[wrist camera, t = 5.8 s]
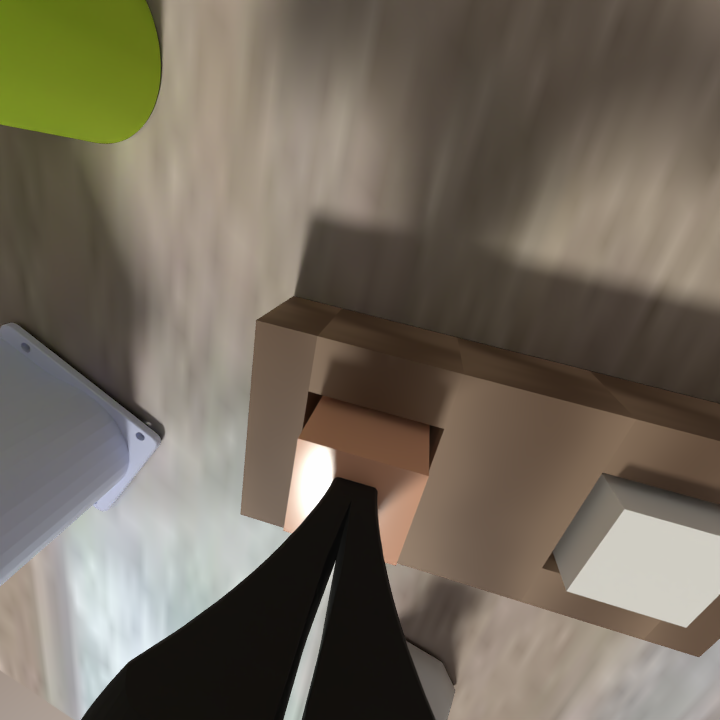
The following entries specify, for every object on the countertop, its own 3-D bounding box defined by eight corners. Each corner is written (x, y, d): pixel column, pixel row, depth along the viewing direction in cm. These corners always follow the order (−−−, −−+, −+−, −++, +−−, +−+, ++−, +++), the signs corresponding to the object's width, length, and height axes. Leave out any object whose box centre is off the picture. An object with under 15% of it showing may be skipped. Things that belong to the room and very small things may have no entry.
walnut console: (273, 462, 19) (240, 514, 15) (293, 296, 15) (256, 320, 12) (649, 573, 17) (698, 657, 14) (779, 418, 13) (888, 485, 10)
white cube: (533, 496, 17) (566, 590, 12) (571, 426, 15) (624, 509, 11) (622, 521, 16) (686, 627, 12) (672, 453, 14) (765, 548, 10)
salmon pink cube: (320, 450, 16) (283, 530, 12) (334, 374, 15) (297, 438, 11) (404, 475, 16) (395, 565, 12) (429, 400, 14) (429, 476, 10)
